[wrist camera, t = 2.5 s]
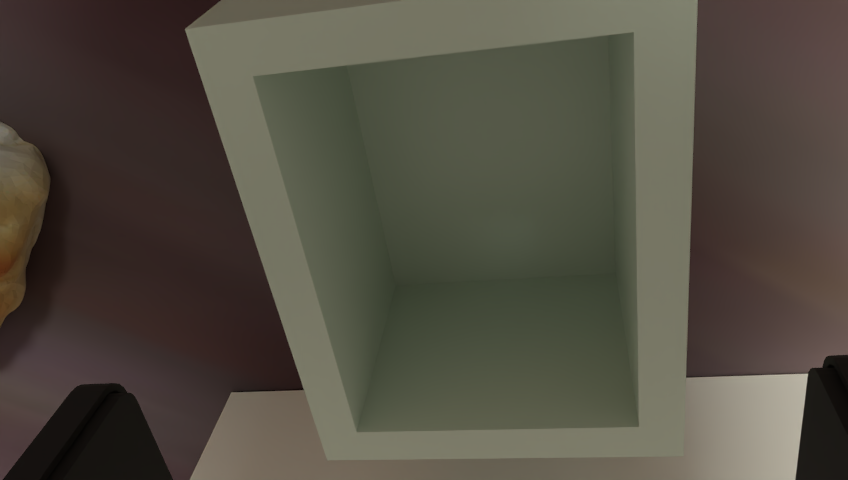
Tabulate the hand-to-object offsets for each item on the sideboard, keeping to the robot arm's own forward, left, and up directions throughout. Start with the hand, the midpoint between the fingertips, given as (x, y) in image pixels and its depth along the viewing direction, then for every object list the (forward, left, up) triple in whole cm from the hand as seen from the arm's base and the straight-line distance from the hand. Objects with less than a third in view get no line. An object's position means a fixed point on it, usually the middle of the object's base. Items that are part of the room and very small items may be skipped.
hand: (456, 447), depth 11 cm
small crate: (-1, 0, -8) cm, 8 cm away
